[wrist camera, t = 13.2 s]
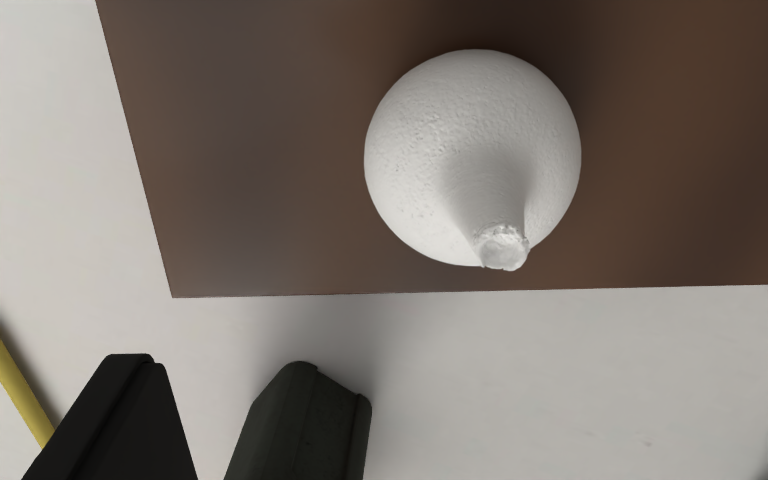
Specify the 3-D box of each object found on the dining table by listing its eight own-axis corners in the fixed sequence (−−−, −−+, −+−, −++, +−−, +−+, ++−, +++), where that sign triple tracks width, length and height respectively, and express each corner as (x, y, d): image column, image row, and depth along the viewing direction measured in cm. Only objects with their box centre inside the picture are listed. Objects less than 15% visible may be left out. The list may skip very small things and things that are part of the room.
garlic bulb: (336, 174, 22) (286, 310, 15) (432, -2, 20) (425, 66, 13) (500, 261, 23) (523, 425, 16) (614, 105, 21) (701, 223, 14)
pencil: (-17, 300, 32) (-30, 312, 32) (106, 507, 39) (99, 522, 38) (-35, 303, 33) (-48, 315, 32) (91, 509, 39) (82, 524, 38)
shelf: (213, 234, 30) (139, 347, 23) (149, -66, 24) (24, -43, 17) (744, 216, 28) (849, 337, 20) (805, -120, 22) (980, -119, 15)
